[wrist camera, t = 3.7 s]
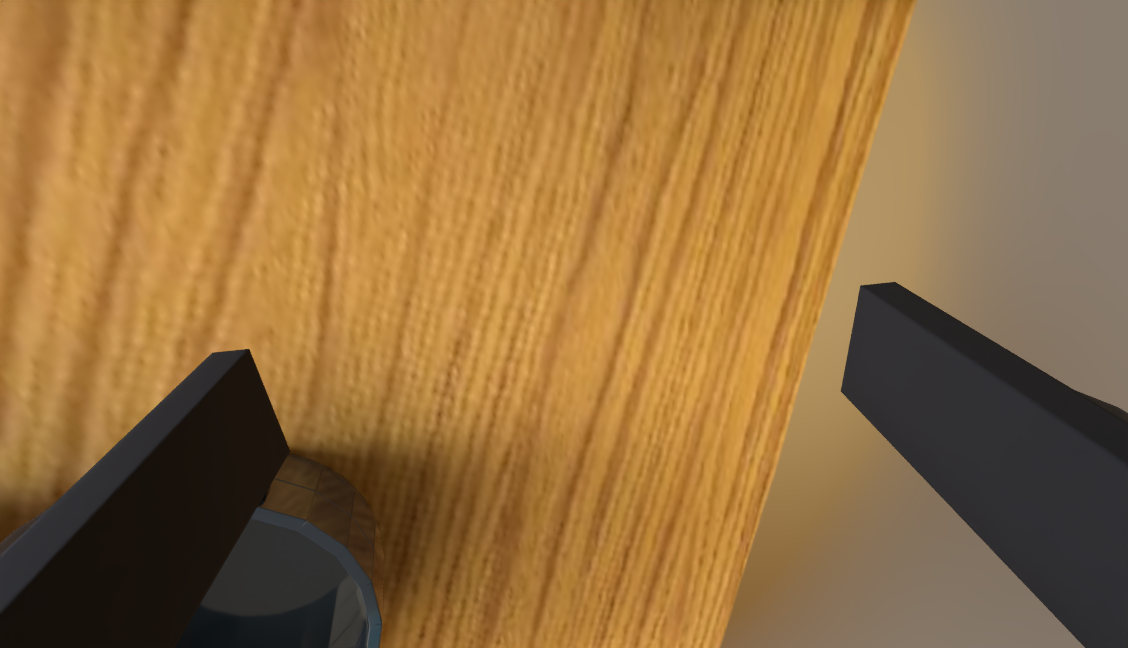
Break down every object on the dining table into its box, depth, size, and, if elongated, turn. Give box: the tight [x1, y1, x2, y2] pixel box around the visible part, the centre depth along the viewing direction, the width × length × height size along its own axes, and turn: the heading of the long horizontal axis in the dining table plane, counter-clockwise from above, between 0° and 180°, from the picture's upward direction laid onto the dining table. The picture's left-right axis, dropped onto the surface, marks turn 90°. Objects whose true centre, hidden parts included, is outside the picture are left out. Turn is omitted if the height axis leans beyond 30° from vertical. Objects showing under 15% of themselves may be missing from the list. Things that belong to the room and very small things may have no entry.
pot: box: [175, 453, 384, 648], centre depth 26 cm, size 14×14×6 cm
